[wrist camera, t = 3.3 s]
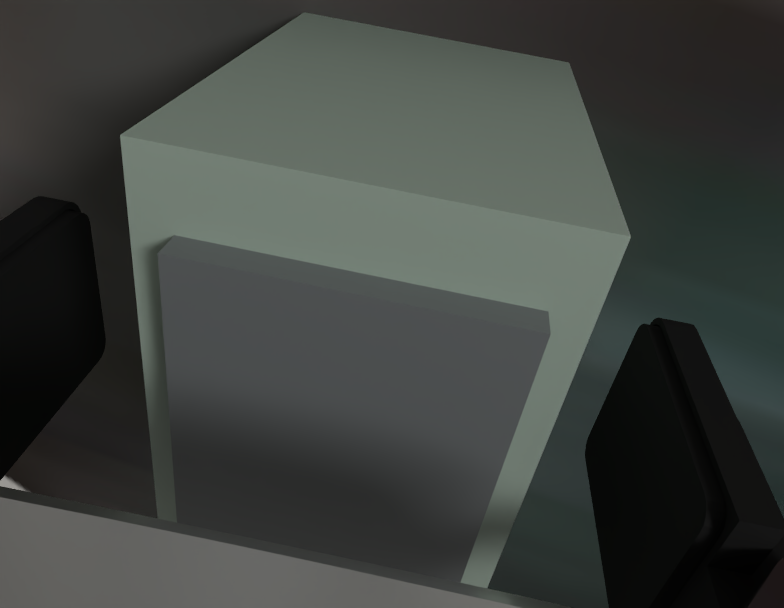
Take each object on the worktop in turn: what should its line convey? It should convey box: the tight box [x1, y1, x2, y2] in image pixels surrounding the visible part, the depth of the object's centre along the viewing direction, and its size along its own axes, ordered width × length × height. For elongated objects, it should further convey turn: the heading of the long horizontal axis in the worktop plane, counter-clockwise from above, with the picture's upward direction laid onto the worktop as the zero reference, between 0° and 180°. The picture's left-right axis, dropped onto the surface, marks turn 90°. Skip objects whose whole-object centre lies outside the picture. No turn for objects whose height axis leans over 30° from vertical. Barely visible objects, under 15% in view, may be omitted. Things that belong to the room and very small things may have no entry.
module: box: [120, 13, 631, 588], centre depth 11 cm, size 5×8×7 cm, turn 172°
